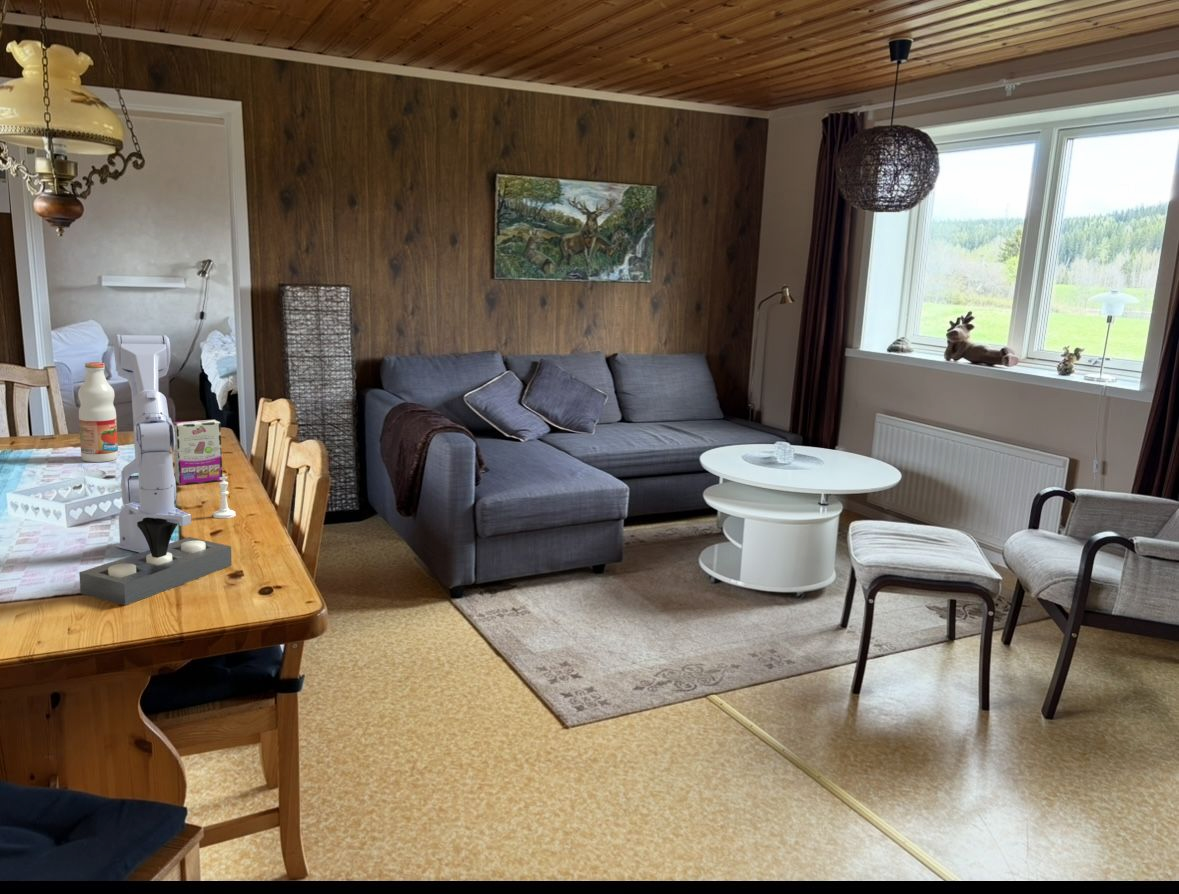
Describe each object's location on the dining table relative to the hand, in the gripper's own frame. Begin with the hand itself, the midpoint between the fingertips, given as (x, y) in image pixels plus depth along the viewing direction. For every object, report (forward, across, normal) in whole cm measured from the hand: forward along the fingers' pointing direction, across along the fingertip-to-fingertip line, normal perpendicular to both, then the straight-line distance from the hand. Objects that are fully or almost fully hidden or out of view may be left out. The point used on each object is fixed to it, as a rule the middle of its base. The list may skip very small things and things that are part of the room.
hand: (159, 556), depth 163 cm
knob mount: (+4, 0, 0) cm, 4 cm away
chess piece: (+5, -21, +37) cm, 43 cm away
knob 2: (+4, 0, +8) cm, 9 cm away
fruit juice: (+4, -91, +60) cm, 109 cm away
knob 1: (+4, 0, -8) cm, 9 cm away
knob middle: (+4, 0, 0) cm, 4 cm away
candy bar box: (+4, -50, +57) cm, 76 cm away
